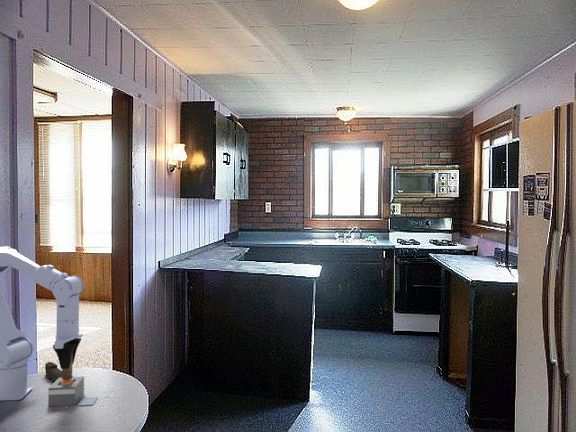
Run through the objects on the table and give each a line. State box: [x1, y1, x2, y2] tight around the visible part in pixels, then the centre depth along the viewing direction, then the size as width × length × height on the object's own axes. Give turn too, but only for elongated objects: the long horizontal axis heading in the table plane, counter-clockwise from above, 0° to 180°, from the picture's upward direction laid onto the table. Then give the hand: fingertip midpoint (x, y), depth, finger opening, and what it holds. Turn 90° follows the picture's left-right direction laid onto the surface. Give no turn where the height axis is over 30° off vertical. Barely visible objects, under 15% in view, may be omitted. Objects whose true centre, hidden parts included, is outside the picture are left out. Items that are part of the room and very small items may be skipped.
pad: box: [77, 396, 99, 407], centre depth 125 cm, size 4×5×1 cm
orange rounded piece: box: [61, 379, 73, 385], centre depth 126 cm, size 3×3×2 cm
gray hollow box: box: [47, 376, 85, 407], centre depth 126 cm, size 7×8×5 cm
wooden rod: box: [61, 353, 73, 380], centre depth 126 cm, size 3×3×9 cm
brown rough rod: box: [44, 361, 74, 382], centre depth 140 cm, size 19×4×5 cm, turn 46°
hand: (67, 366), depth 126 cm, fingers closed on wooden rod, 3 cm apart
